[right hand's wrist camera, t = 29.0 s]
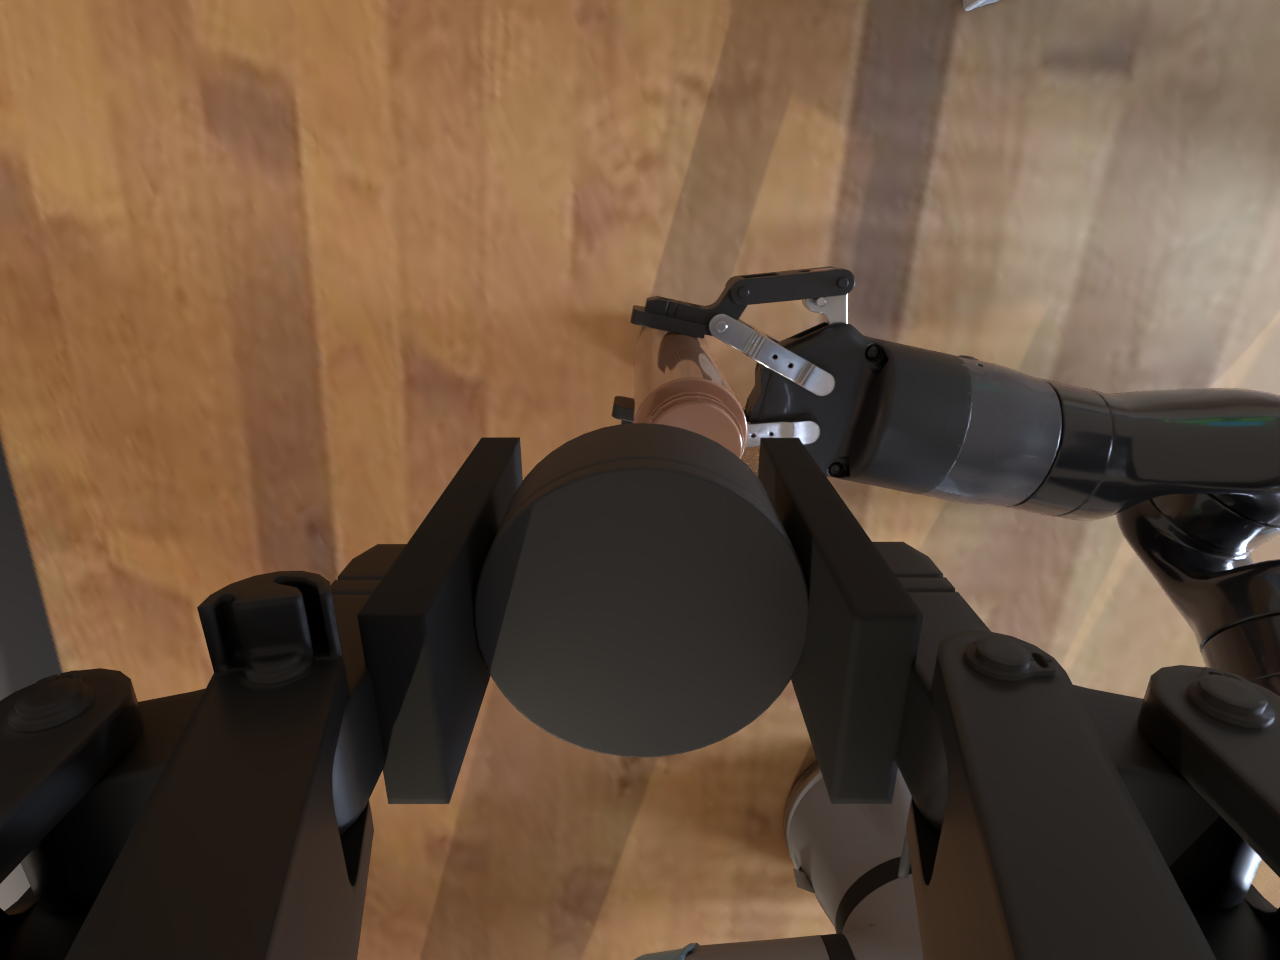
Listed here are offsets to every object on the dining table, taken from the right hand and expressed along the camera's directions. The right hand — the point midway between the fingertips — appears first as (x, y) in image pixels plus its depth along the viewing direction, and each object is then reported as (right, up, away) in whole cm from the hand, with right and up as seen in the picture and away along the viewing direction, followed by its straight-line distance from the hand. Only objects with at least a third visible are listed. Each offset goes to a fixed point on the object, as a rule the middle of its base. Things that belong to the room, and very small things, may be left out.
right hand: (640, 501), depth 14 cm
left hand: (-1, +7, +22) cm, 23 cm away
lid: (0, -1, -4) cm, 4 cm away
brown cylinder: (+2, +8, +28) cm, 29 cm away
